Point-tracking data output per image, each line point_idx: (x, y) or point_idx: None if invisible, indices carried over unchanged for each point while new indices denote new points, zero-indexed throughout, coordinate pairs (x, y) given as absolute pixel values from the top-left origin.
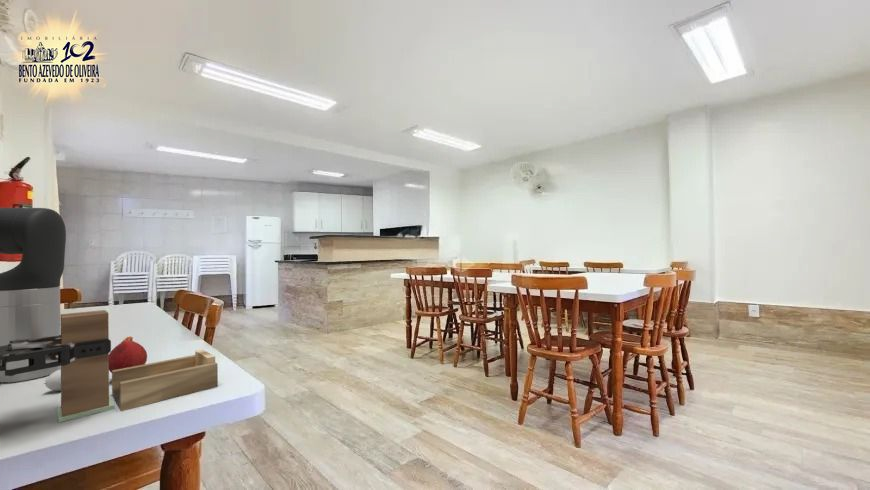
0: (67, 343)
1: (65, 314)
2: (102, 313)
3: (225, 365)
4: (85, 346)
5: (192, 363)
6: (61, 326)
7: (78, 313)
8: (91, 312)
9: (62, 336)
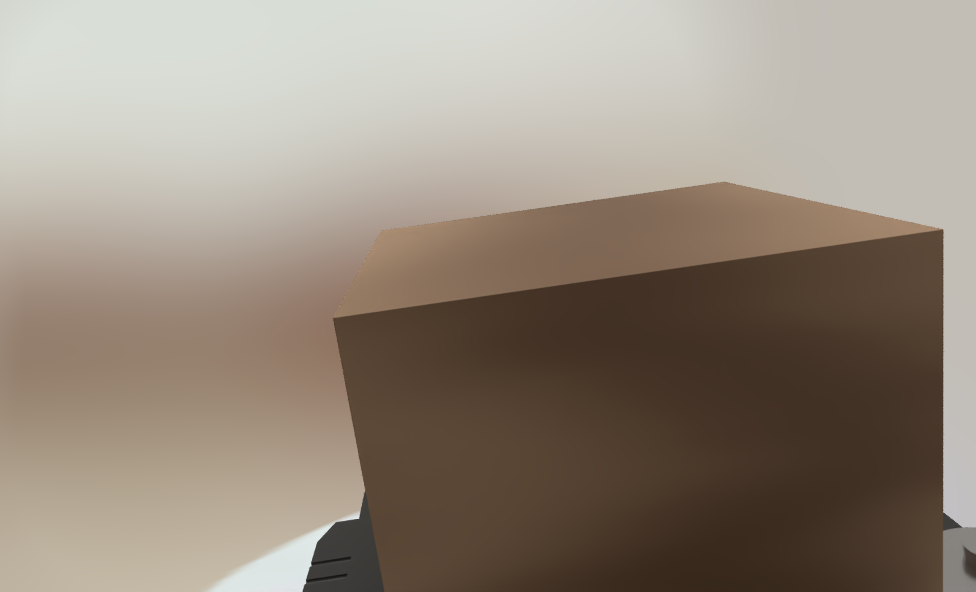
0: (954, 580)
1: (455, 287)
2: (736, 186)
3: (349, 519)
4: (951, 524)
5: None
6: (770, 419)
7: (496, 252)
8: (528, 227)
9: (936, 521)
